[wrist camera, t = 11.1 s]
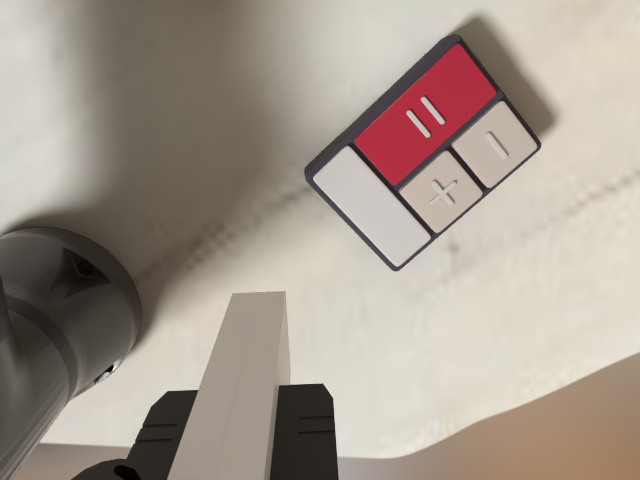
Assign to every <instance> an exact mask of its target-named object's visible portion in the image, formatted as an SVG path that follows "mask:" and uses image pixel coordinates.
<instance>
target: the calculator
mask: <svg viewBox="0 0 640 480" xmlns="http://www.w3.org/2000/svg"><path fill="white" fill-rule="evenodd" d="M540 148H541V142H540V141H539V139H538V138H537V137H536V135H535V134H534V133H533V131H532V130H531V129H530V127H529V126H528V125H527V124H526V122H525V121H524V120H523V118H522V117H521V116H520V114H519V113H518V112H517V110H516V109H515V108H514V106H513V105H512V104H511V102H510V101H509V100H508V99H507V97H506V96H505V95H504V93H503V92H502V91H501V89H500V88H499V87H498V85H497V84H496V83H495V81H494V80H493V79H492V77H491V76H490V75H489V73H488V72H487V71H486V70H485V68H484V67H483V66H482V64H481V63H480V62H479V60H478V59H477V58H476V56H475V55H474V54H473V52H472V51H471V50H470V48H469V47H468V46H467V44H466V43H465V42H464V41H463V39H462V38H461V37H460V36H459V35H453V36H450V37H447V38H444V39H442V40H441V41H439V42H438V43H437V44H436V45H435V46H434V47H433V48H432V49H431V50H430V51H429V52H428V53H427V54H425V55H424V56H423V57H422V58H421V59H420V60H419V61H418V62H417V63H416V64H415V65H414V66H413V67H412V68H411V69H410V70H408V71H407V72H406V73H405V74H404V75H403V76H402V77H401V78H400V79H399V80H398V81H397V82H396V83H395V84H394V85H393V86H392V87H391V88H390V89H388V90H387V91H386V92H385V93H384V94H383V95H382V96H381V97H380V98H379V99H378V100H377V101H376V102H375V103H374V104H373V105H372V106H371V107H370V108H368V109H367V110H366V111H365V112H364V113H363V114H362V115H361V116H360V117H359V118H358V119H357V120H356V121H355V122H354V123H353V124H352V125H351V126H350V127H348V128H347V129H346V130H345V131H344V132H343V133H342V134H341V135H339V136H338V137H337V138H336V139H335V140H334V141H333V142H332V143H331V144H330V145H328V146H327V147H326V148H325V149H324V150H323V151H322V152H321V153H320V154H319V155H318V156H317V157H316V158H315V159H314V160H313V161H311V162H310V163H309V164H308V165H307V166H306V167H305V170H304V172H305V179H306V181H307V182H308V183H309V184H310V186H311V187H312V188H313V189H314V190H315V191H316V192H317V193H318V194H319V195H320V196H321V197H322V198H323V199H324V200H325V201H326V202H327V203H328V204H329V205H330V206H331V207H332V208H333V209H334V210H335V211H336V213H337V214H338V215H339V216H340V217H341V218H342V219H343V220H344V221H345V222H346V223H347V224H348V225H349V226H350V227H351V228H352V229H353V230H354V231H355V232H356V233H357V234H358V235H359V236H360V237H361V239H362V240H363V241H364V242H365V243H366V244H367V245H368V246H369V247H370V248H371V249H372V250H373V251H374V252H375V253H376V254H377V255H378V256H379V257H380V258H381V259H382V260H383V261H384V262H385V263H386V265H387V266H388V267H389V268H390V269H391V270H393V271H399V270H400V269H401V268H403V267H404V266H405V265H406V264H407V263H408V262H410V261H411V260H412V259H413V258H414V257H415V256H417V255H418V254H419V253H420V252H421V251H422V250H424V249H425V248H426V247H427V246H428V245H429V244H431V243H432V242H433V241H434V240H435V239H436V238H438V237H439V236H440V235H441V234H442V233H443V232H445V231H446V230H447V229H448V228H449V227H450V226H452V225H453V224H454V223H455V222H456V221H457V220H458V219H460V218H461V217H462V216H463V215H464V214H465V213H467V212H468V211H469V210H470V209H471V208H472V207H474V206H475V205H476V204H477V203H478V202H479V201H481V200H482V199H483V198H484V197H485V196H486V195H488V194H489V193H490V192H491V191H492V190H493V189H495V188H496V187H497V186H498V185H499V184H500V183H502V182H503V181H504V180H505V179H506V178H507V177H509V176H510V175H511V174H512V173H513V172H514V171H515V170H517V169H518V168H519V167H520V166H521V165H522V164H524V163H525V162H526V161H527V160H528V159H529V158H531V157H532V156H533V155H534V154H535V153H536V152H538V151H539V150H540Z"/></svg>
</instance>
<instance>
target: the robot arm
mask: <svg viewBox="0 0 640 480" xmlns="http://www.w3.org/2000/svg"><path fill="white" fill-rule="evenodd" d="M140 325H141V306H140V301H139V297H138V294H137V291H136V288H135V286H134V284H133V282H132V280H131V278H130V277H129V275H128V274H127V272H126V271H125V269H124V268H123V267H122V266H121V264H120V263H119V262H118V261H117V260H116V259H115V258H114V257H113V256H112V255H111V254H109V253H108V252H107V251H106V250H104V249H103V248H102V247H100V246H99V245H97V244H96V243H94V242H92V241H91V240H89V239H87V238H85V237H82V236H80V235H78V234H75V233H72V232H69V231H65V230H61V229H55V228H46V227H33V228H24V229H20V230H16V231H12V232H10V233H7V234H5V235H3V236H1V237H0V480H12V479H13V478H14V476H15V475H16V473H17V472H18V470H19V469H20V468H21V466H22V465H23V464H24V462H25V461H26V459H27V458H28V457H29V455H30V454H31V452H32V451H33V450H34V448H35V447H36V445H37V444H38V443H39V441H40V440H41V439H42V437H43V436H44V434H45V433H46V432H47V430H48V429H49V428H50V426H51V425H52V424H53V422H54V421H55V419H56V418H57V417H58V415H59V414H60V413H61V411H62V410H63V408H64V407H65V406H66V404H67V403H68V402H69V401H70V400H72V399H74V398H75V397H77V396H78V395H80V394H82V393H83V392H85V391H86V390H88V389H90V388H91V387H93V386H94V385H95V384H97V383H99V382H101V381H102V380H104V379H105V378H107V377H108V376H109V375H111V374H112V373H113V372H114V371H115V370H116V369H117V368H118V367H119V366H120V365H121V363H122V362H123V361H124V359H125V358H126V356H127V355H128V353H129V352H130V350H131V348H132V347H133V345H134V343H135V342H136V339H137V337H138V334H139V330H140ZM290 373H291V372H290V357H289V341H288V326H287V310H286V294H285V291H283V292H257V293H233V294H232V297H231V300H230V302H229V305H228V308H227V311H226V314H225V317H224V319H223V322H222V325H221V328H220V331H219V334H218V336H217V339H216V342H215V345H214V348H213V351H212V353H211V356H210V359H209V362H208V365H207V368H206V370H205V373H204V376H203V379H202V382H201V385H200V387H199V390H187V391H167V392H166V393H165V394H164V395H163V396H162V397H161V398H160V399H159V400H158V401H157V402H156V403H155V404H154V405H153V406H152V407H151V408H150V410H149V413H148V415H147V417H146V419H145V421H144V423H143V428H142V429H140V431H139V434H138V436H137V438H136V440H135V444H133V446H132V448H131V450H130V453H129V455H128V457H127V459H115V460H110V461H104V462H101V463H98V464H96V465H94V466H92V467H90V468H87V469H85V470H84V471H82V472H81V473H79V474H78V475H77V476H75V477H74V478H73V479H71V480H338V466H337V450H336V435H335V421H334V406H333V398H332V396H331V395H330V393H329V392H328V390H327V389H326V387H325V386H324V385H323V384H301V385H290Z"/></svg>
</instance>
